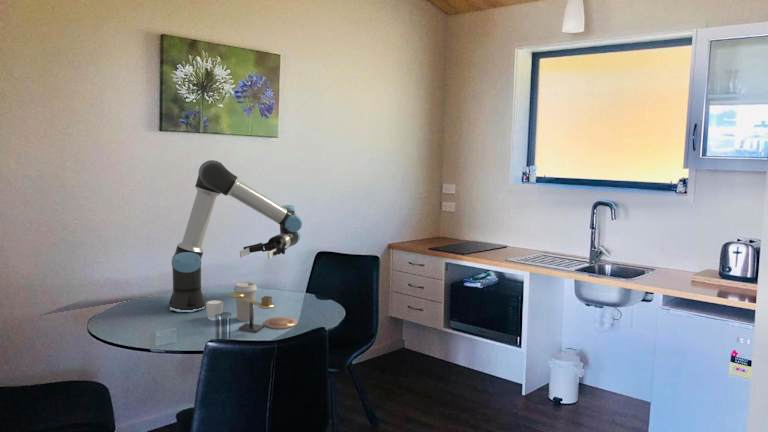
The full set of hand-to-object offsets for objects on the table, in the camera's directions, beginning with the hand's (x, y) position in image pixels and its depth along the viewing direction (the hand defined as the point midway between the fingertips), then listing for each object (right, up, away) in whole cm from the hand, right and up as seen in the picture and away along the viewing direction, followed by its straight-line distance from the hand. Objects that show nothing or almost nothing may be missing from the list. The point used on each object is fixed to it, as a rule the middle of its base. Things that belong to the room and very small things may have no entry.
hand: (254, 254), depth 264 cm
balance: (+3, -28, -18) cm, 34 cm away
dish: (+13, -27, -11) cm, 32 cm away
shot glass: (-15, -26, -7) cm, 31 cm away
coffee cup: (-2, -26, -7) cm, 27 cm away
